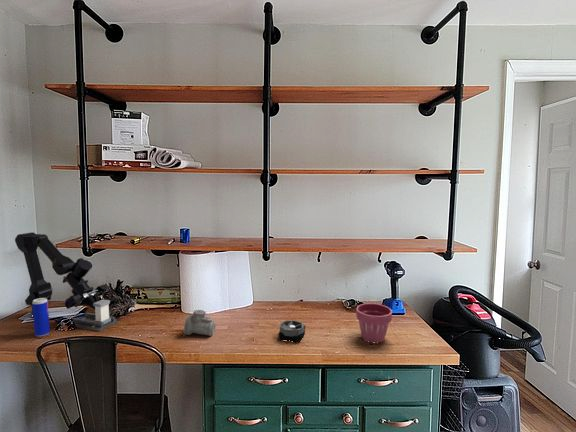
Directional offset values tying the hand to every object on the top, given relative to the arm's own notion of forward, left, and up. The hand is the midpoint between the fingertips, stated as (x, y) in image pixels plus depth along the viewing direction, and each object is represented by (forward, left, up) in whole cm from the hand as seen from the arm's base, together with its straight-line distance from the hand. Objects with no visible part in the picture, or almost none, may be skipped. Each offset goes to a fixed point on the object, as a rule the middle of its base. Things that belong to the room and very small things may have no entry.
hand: (98, 310), depth 154 cm
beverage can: (-4, -21, -7) cm, 22 cm away
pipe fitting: (+35, +32, -7) cm, 48 cm away
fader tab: (+1, +1, -5) cm, 6 cm away
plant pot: (+81, +88, -7) cm, 120 cm away
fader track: (-2, -2, -7) cm, 8 cm away
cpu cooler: (+60, +62, -7) cm, 86 cm away
